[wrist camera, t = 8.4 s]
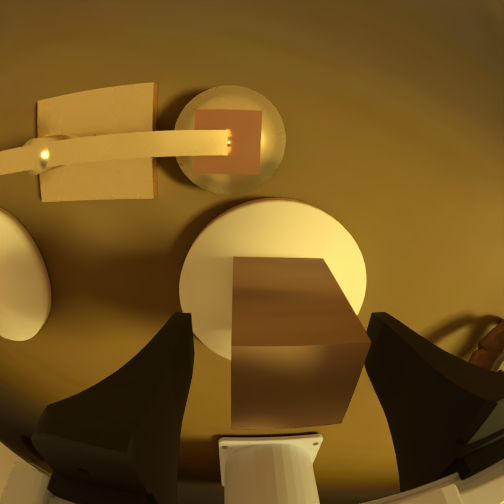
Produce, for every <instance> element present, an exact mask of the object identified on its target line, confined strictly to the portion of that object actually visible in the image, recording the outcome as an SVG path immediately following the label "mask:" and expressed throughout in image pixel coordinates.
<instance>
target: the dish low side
mask: <svg viewBox="0 0 504 504" xmlns="http://www.w3.org/2000/svg"><path fill="white" fill-rule="evenodd" d="M233 256H236V257H282V258H323V259H324V261H325V262H326V264H327V266H328V267H329V269H330V271H331V272H332V274H333V276H334V277H335V279H336V281H337V282H338V284H339V286H340V288H341V289H342V291H343V293H344V294H345V296H346V298H347V300H348V301H349V303H350V305H351V306H352V308H353V310H354V312H355V313H356V315H358V313H359V311H360V308H361V306H362V303H363V300H364V296H365V290H366V270H365V264H364V260H363V257H362V254H361V252H360V250H359V247H358V245H357V244H356V242H355V241H354V239H353V238H352V236H351V235H350V234H349V233H348V231H347V230H346V229H345V228H344V227H343V226H342V225H341V224H340V223H339V222H338V221H337V220H336V219H335V218H333V217H332V216H331V215H330V214H328V213H327V212H325V211H324V210H322V209H320V208H319V207H317V206H314V205H312V204H309V203H307V202H304V201H300V200H296V199H290V198H282V197H273V198H262V199H255V200H251V201H248V202H244V203H241V204H239V205H236V206H234V207H232V208H230V209H228V210H226V211H225V212H223V213H221V214H220V215H218V216H217V217H216V218H214V219H213V220H212V221H211V222H210V223H208V224H207V225H206V226H205V228H204V229H203V230H202V231H201V232H200V233H199V234H198V236H197V237H196V239H195V240H194V242H193V243H192V245H191V247H190V249H189V251H188V254H187V256H186V259H185V262H184V265H183V268H182V271H181V276H180V282H179V297H180V304H181V308H182V311H183V313H191V316H192V330H193V333H194V334H195V335H196V336H197V337H198V338H199V340H200V341H201V342H202V343H203V344H205V345H206V346H207V347H208V348H209V349H211V350H212V351H214V352H215V353H217V354H219V355H220V356H222V357H224V358H226V359H229V360H231V331H232V288H233Z"/></svg>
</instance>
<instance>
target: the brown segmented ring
mask: <svg viewBox="0 0 504 504" xmlns="http://www.w3.org/2000/svg"><path fill="white" fill-rule="evenodd" d="M478 348H479V350H476V351H474V352H473V354H472V356H471V358H470V360H469V363H471V364H474V365H476V366H479V367H482V368H485V369H488V370H491V371H494V372H497V370H498V368H499V367H500V365H501V364H502V362H503V361H504V319H501V321H500V323H499V324H498V325H497V326H496V327H495V328H493V329H492V330H491V331H490V332H489V333H488V334H487V335H486V336H485V337H484V338H482V339H481V340H480V342H479V344H478ZM498 373H502V374H504V371H502V370H499V371H498Z"/></svg>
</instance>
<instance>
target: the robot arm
mask: <svg viewBox="0 0 504 504" xmlns="http://www.w3.org/2000/svg"><path fill="white" fill-rule="evenodd" d="M366 333H367V335H368V337H369V338H370V340H371V344H370V348H369V351H368V354H367V357H366V360H365V363H364V365H365V368H366V371H367V374H368V376H369V378H370V381H371V383H372V385H373V387H374V390H375V392H376V394H377V396H378V399H379V401H380V403H381V405H382V408H383V410H384V413H385V415H386V418H387V421H388V425H389V428H390V432H391V436H392V440H393V444H394V449H395V453H396V459H397V465H398V471H399V480H400V491H401V493H399V494H396V495H392V496H389V497H385V498H381V499H377V500H373V501H369V502H365V503H361V504H504V374H502V373H498V372H494V371H491V370H488V369H485V368H482V367H479V366H476V365H474V364H471V363H469V362H466V361H464V360H462V359H460V358H458V357H456V356H454V355H452V354H450V353H448V352H446V351H444V350H442V349H441V348H439V347H437V346H436V345H434V344H432V343H431V342H429V341H428V340H426V339H425V338H423V337H422V336H420V335H419V334H417V333H416V332H414V331H413V330H411V329H410V328H408V327H407V326H406V325H404V324H403V323H401V322H400V321H398V320H397V319H395V318H394V317H392V316H391V315H389V314H387V313H385V312H376V313H372V314H371V318H370V321H369V325H368V328H367V332H366ZM193 364H194V343H193V330H192V316H191V313H179V312H176V313H174V314H173V315H172V317H171V318H170V319H169V320H168V321H167V323H166V324H165V325H164V326H163V327H162V329H161V330H160V331H159V332H158V333H157V334H156V335H155V336H154V338H153V339H152V340H151V341H150V342H149V343H148V344H147V345H146V346H145V347H144V348H143V349H142V350H141V351H140V352H139V353H138V354H137V355H136V356H135V357H133V358H132V359H131V360H130V361H129V362H128V363H126V364H125V365H124V366H123V367H121V368H120V369H119V370H117V371H116V372H115V373H113V374H112V375H110V376H108V377H107V378H105V379H104V380H102V381H101V382H99V383H97V384H96V385H94V386H92V387H90V388H88V389H86V390H84V391H82V392H80V393H78V394H76V395H74V396H71V397H69V398H66V399H64V400H61V401H58V402H56V403H53V404H50V405H47V407H46V408H45V410H44V412H43V414H42V415H41V417H40V420H39V422H38V424H37V426H36V428H35V430H34V432H33V435H32V437H31V440H32V443H33V446H34V447H35V449H36V450H37V452H38V453H39V454H40V455H41V457H42V458H43V459H44V460H45V461H46V462H47V464H48V465H49V466H50V467H51V468H52V469H53V473H52V476H51V478H50V477H49V476H47V475H46V474H44V473H42V472H40V471H38V470H35V469H33V468H30V467H28V466H25V465H23V464H21V463H19V462H15V464H14V466H13V468H12V471H11V473H10V475H9V478H8V481H7V483H6V485H5V488H4V491H3V493H2V496H1V499H0V504H177V475H178V458H179V444H180V433H181V426H182V420H183V415H184V411H185V406H186V402H187V397H188V393H189V388H190V384H191V379H192V374H193ZM322 440H323V437H322V435H321V434H311V435H299V436H283V437H248V438H240V437H223V438H220V439H219V457H220V469H221V481H222V485H223V486H225V504H320V503H319V497H318V492H317V487H316V482H315V477H314V471H313V466H312V464H313V462H314V459H315V457H316V455H317V452H318V450H319V448H320V445H321V443H322Z"/></svg>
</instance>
